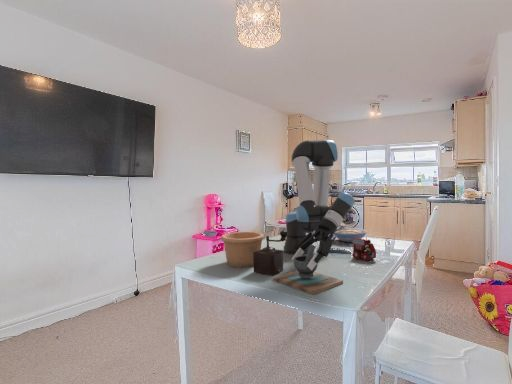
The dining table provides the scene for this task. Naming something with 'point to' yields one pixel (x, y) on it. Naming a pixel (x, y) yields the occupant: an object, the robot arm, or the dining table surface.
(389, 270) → the dining table surface
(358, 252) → the toy fire truck
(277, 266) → the manual coffee grinder
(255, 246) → the pottery
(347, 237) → the ramen bowl
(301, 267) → the mortar and pestle
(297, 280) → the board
